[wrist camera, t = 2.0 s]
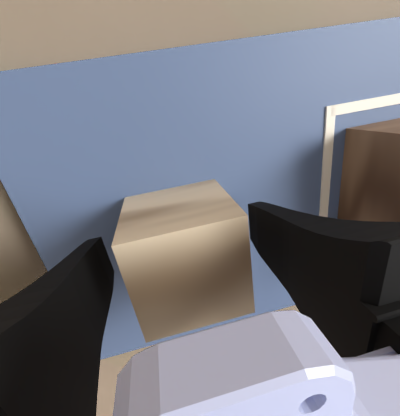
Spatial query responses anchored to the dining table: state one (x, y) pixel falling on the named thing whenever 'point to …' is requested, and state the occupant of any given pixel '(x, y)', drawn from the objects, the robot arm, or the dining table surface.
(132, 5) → the dining table surface
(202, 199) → the maple cube
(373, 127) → the walnut base
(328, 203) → the board
